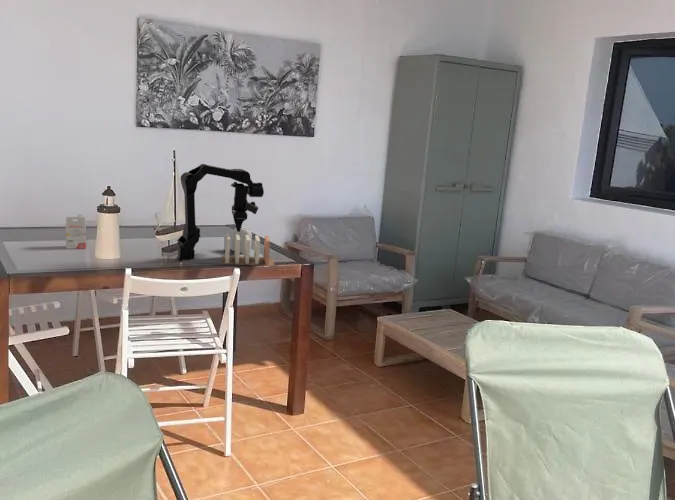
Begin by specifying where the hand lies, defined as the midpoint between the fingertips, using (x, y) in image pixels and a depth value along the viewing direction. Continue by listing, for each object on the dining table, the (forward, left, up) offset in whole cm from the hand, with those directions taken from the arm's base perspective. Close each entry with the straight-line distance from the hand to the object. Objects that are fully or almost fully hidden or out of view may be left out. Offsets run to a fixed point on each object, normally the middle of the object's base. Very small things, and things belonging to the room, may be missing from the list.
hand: (237, 229), depth 322 cm
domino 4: (+6, -10, -13) cm, 17 cm away
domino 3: (+1, -9, -13) cm, 15 cm away
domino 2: (-3, -7, -13) cm, 15 cm away
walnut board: (+2, -9, -14) cm, 16 cm away
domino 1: (-7, -6, -13) cm, 16 cm away
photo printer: (+5, +7, -14) cm, 16 cm away
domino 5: (+10, -12, -13) cm, 20 cm away
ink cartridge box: (-67, +30, -14) cm, 74 cm away
